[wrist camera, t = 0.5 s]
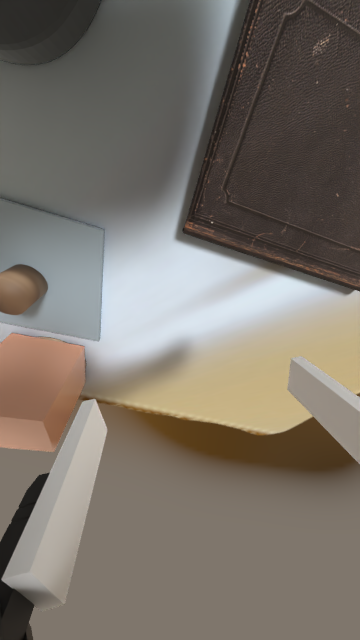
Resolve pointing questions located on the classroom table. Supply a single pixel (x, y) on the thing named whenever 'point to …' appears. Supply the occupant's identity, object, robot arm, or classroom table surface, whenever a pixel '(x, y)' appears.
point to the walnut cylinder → (20, 288)
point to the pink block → (37, 390)
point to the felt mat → (55, 269)
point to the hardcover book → (288, 142)
